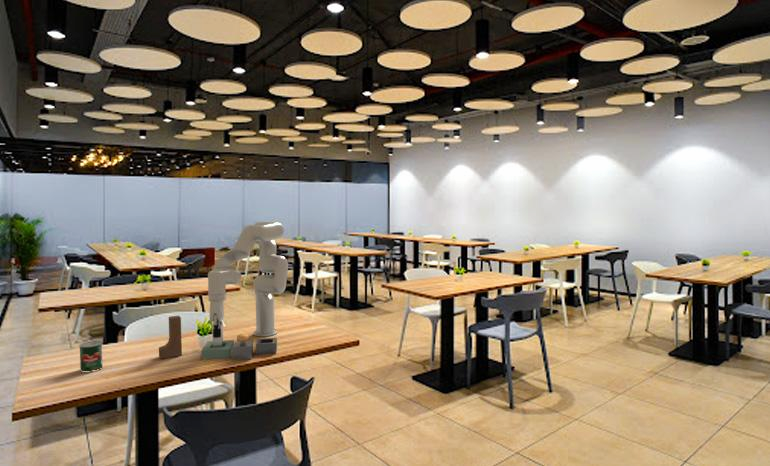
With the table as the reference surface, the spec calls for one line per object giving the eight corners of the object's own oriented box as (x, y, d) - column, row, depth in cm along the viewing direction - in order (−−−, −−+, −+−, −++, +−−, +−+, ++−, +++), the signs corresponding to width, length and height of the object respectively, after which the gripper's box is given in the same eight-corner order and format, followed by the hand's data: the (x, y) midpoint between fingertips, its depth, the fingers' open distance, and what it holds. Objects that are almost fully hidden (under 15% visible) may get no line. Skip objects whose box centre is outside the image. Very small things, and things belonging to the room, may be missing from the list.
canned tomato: (86, 374, 188) (85, 347, 187) (76, 370, 192) (75, 344, 191) (106, 368, 194) (105, 343, 194) (96, 365, 198) (95, 340, 198)
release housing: (235, 354, 212) (235, 341, 212) (253, 353, 213) (253, 340, 213) (232, 360, 204) (232, 347, 204) (251, 359, 206) (251, 346, 205)
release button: (238, 353, 211) (237, 334, 210) (249, 352, 212) (249, 333, 211) (236, 357, 206) (236, 337, 205) (248, 356, 207) (247, 336, 206)
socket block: (257, 348, 220) (257, 338, 220) (277, 347, 222) (276, 337, 221) (256, 355, 211) (255, 344, 211) (276, 353, 213) (275, 343, 212)
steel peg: (214, 347, 215) (213, 322, 214) (223, 347, 215) (222, 322, 215) (212, 350, 211) (212, 324, 210) (221, 350, 212) (221, 324, 211)
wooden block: (160, 359, 205) (159, 319, 204) (158, 356, 209) (157, 317, 208) (182, 355, 211) (180, 317, 209) (180, 353, 214) (178, 315, 213)
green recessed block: (208, 349, 219) (207, 341, 219) (234, 348, 221) (233, 339, 221) (201, 359, 206) (201, 350, 205) (229, 357, 208) (229, 348, 207)
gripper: (212, 293, 219) (212, 331, 220) (204, 301, 203) (205, 341, 204) (228, 293, 221) (229, 330, 222) (222, 300, 204) (223, 340, 205)
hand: (217, 335), depth 213 cm, fingers closed on steel peg, 4 cm apart
